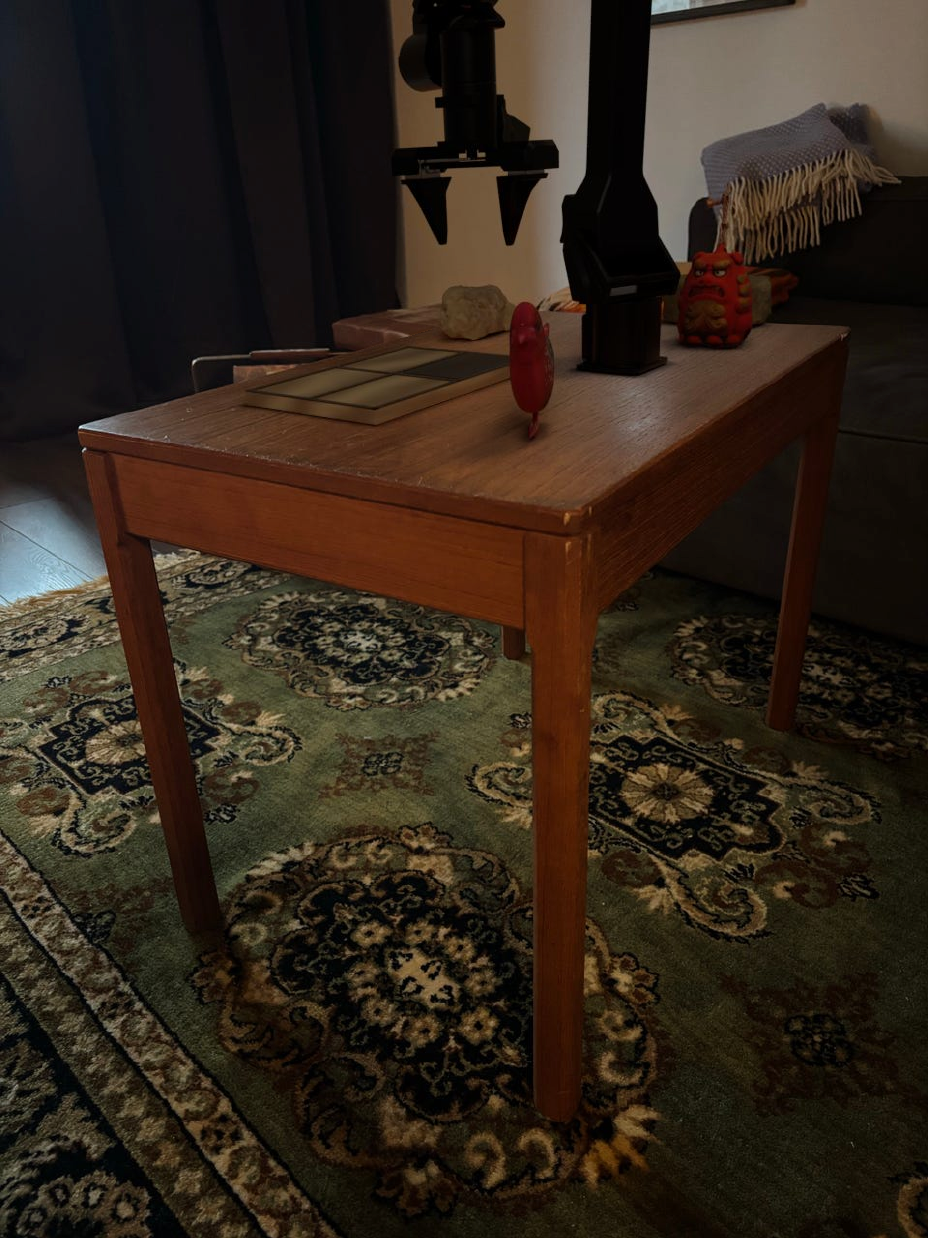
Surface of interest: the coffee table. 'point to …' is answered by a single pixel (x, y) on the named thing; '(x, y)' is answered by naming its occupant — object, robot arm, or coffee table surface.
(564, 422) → the coffee table surface
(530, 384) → the decorative bird figurine
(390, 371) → the board
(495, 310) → the stone tool
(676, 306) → the stone block
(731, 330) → the red clay folk toy
